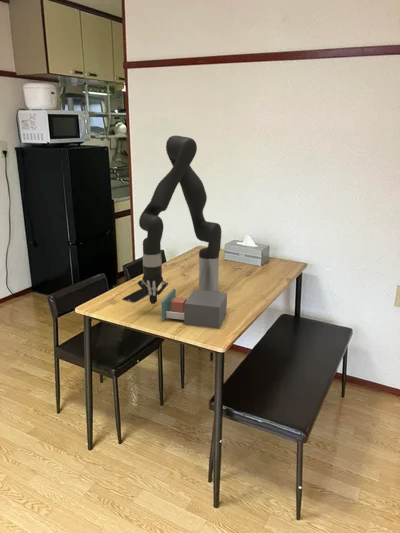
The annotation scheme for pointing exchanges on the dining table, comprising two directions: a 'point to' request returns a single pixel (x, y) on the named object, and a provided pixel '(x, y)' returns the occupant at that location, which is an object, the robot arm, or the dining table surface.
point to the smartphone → (135, 296)
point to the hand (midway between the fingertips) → (153, 303)
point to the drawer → (167, 307)
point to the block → (178, 304)
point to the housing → (205, 309)
